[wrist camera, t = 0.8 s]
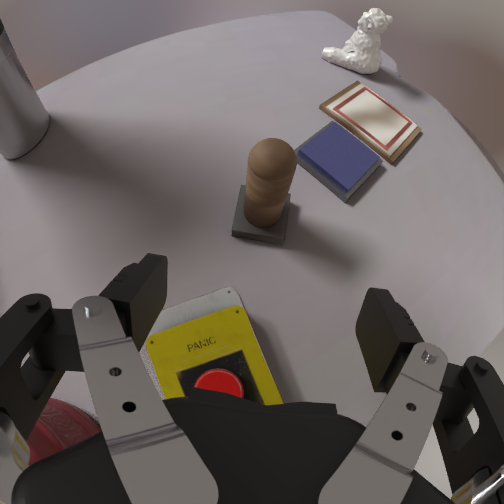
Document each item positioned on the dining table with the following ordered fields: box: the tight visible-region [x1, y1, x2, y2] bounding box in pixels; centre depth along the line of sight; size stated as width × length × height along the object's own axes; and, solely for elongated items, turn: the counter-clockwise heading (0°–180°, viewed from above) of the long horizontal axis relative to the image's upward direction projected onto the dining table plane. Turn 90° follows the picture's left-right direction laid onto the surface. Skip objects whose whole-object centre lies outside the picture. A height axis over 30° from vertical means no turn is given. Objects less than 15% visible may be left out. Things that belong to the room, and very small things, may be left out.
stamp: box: [232, 138, 297, 245], centre depth 26 cm, size 5×5×11 cm
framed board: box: [319, 81, 422, 165], centre depth 38 cm, size 12×10×1 cm
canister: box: [26, 398, 102, 466], centre depth 13 cm, size 13×13×18 cm
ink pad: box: [294, 121, 383, 203], centre depth 34 cm, size 8×8×2 cm
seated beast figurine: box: [322, 8, 393, 74], centre depth 37 cm, size 10×9×12 cm
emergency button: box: [146, 287, 284, 405], centre depth 24 cm, size 9×4×15 cm
